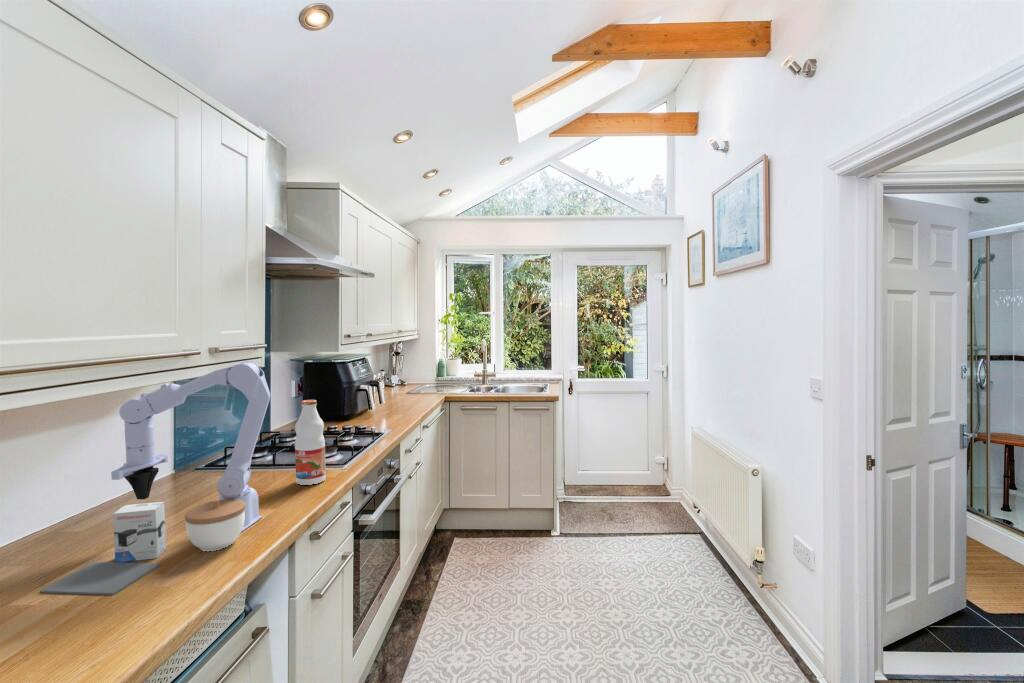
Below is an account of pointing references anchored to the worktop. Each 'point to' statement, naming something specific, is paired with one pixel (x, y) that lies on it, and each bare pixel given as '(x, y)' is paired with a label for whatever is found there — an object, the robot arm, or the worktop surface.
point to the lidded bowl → (215, 523)
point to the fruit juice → (309, 445)
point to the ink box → (139, 532)
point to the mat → (101, 578)
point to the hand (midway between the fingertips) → (142, 498)
